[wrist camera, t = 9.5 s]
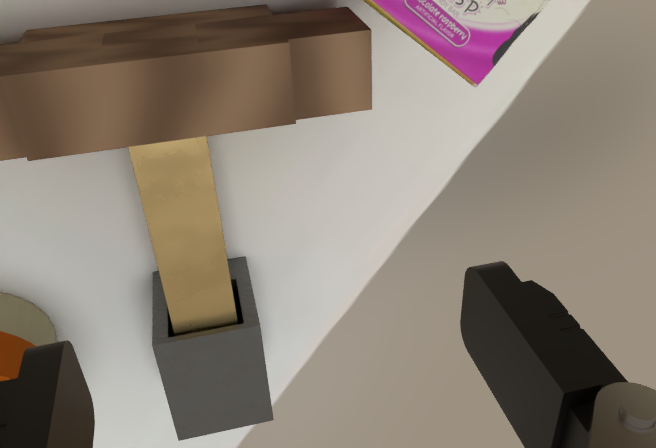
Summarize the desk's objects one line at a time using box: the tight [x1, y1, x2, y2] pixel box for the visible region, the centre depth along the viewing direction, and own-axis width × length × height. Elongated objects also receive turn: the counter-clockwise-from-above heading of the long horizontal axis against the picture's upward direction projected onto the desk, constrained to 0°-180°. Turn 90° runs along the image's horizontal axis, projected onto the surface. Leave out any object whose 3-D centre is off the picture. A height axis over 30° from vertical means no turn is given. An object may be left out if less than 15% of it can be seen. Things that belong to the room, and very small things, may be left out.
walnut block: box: [0, 5, 372, 161], centre depth 35 cm, size 23×4×8 cm, turn 93°
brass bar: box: [128, 136, 238, 336], centre depth 40 cm, size 4×21×4 cm, turn 3°
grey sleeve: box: [152, 257, 273, 441], centre depth 47 cm, size 7×10×8 cm
